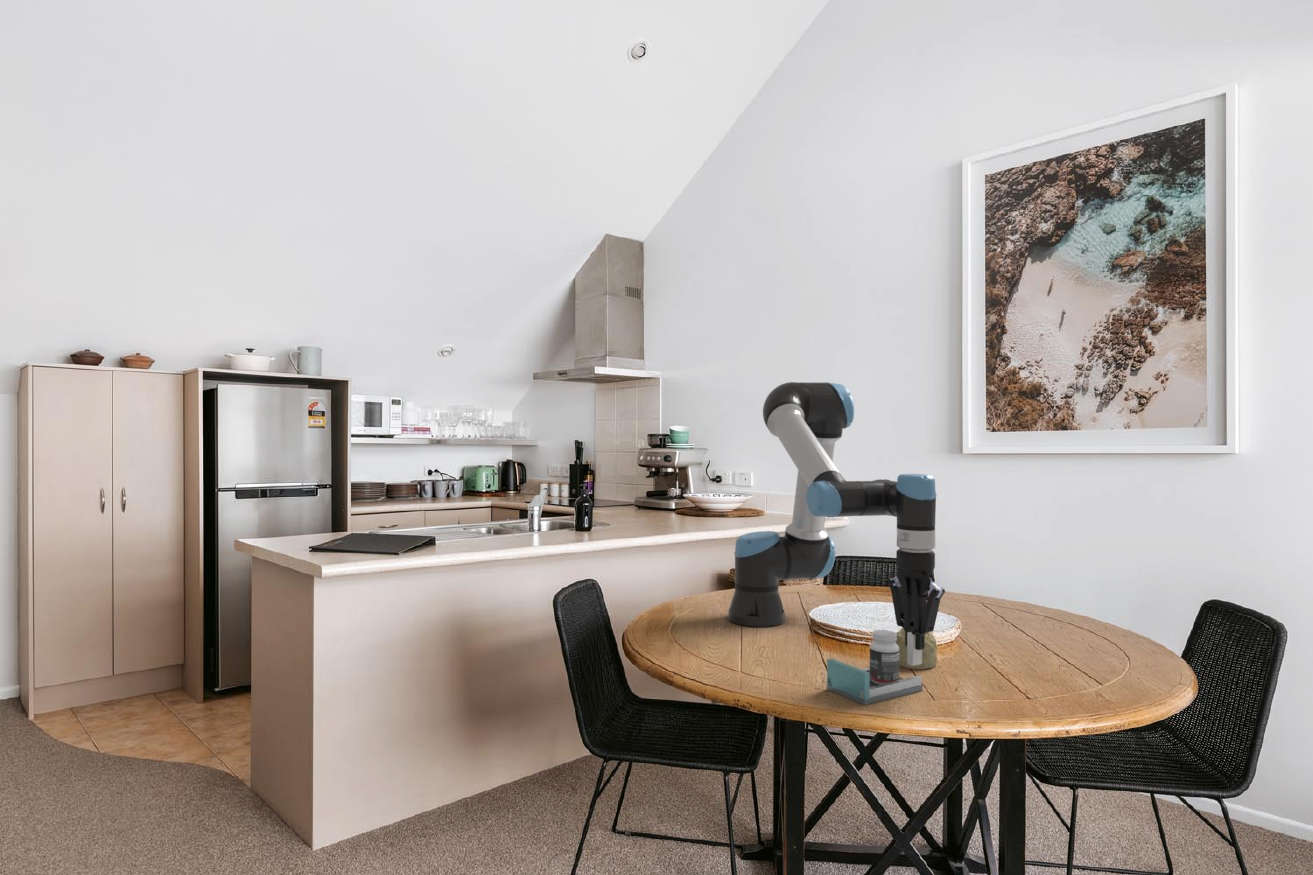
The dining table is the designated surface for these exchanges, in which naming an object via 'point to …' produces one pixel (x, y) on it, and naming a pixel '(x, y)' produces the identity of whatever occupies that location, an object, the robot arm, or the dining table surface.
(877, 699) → the grey tray holder
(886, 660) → the pill bottle
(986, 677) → the dining table surface
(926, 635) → the decorative object
